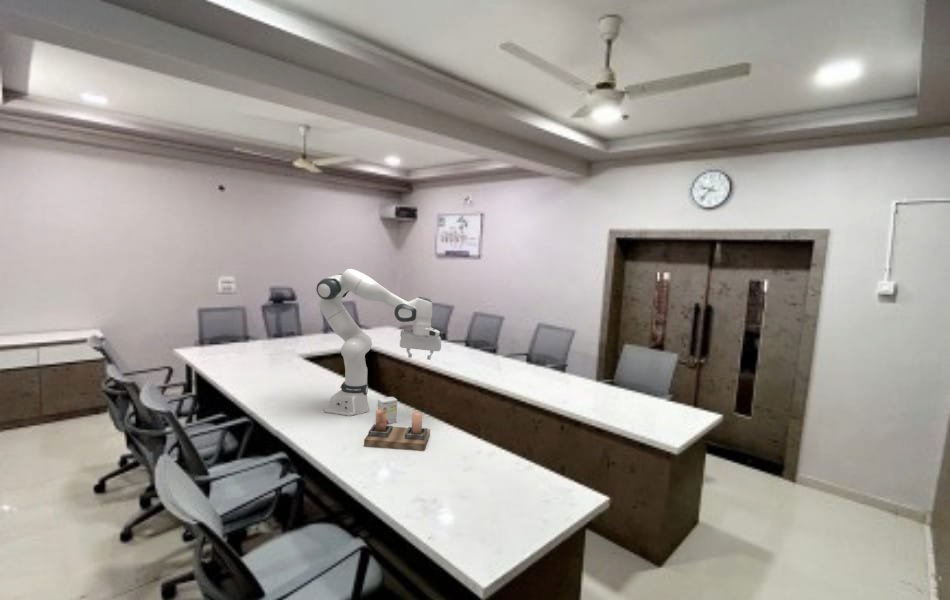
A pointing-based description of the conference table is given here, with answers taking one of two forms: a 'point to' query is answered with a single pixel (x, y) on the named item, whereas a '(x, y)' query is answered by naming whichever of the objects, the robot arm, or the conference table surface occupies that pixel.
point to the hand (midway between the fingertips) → (419, 358)
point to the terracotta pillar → (416, 423)
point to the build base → (394, 435)
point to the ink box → (389, 408)
